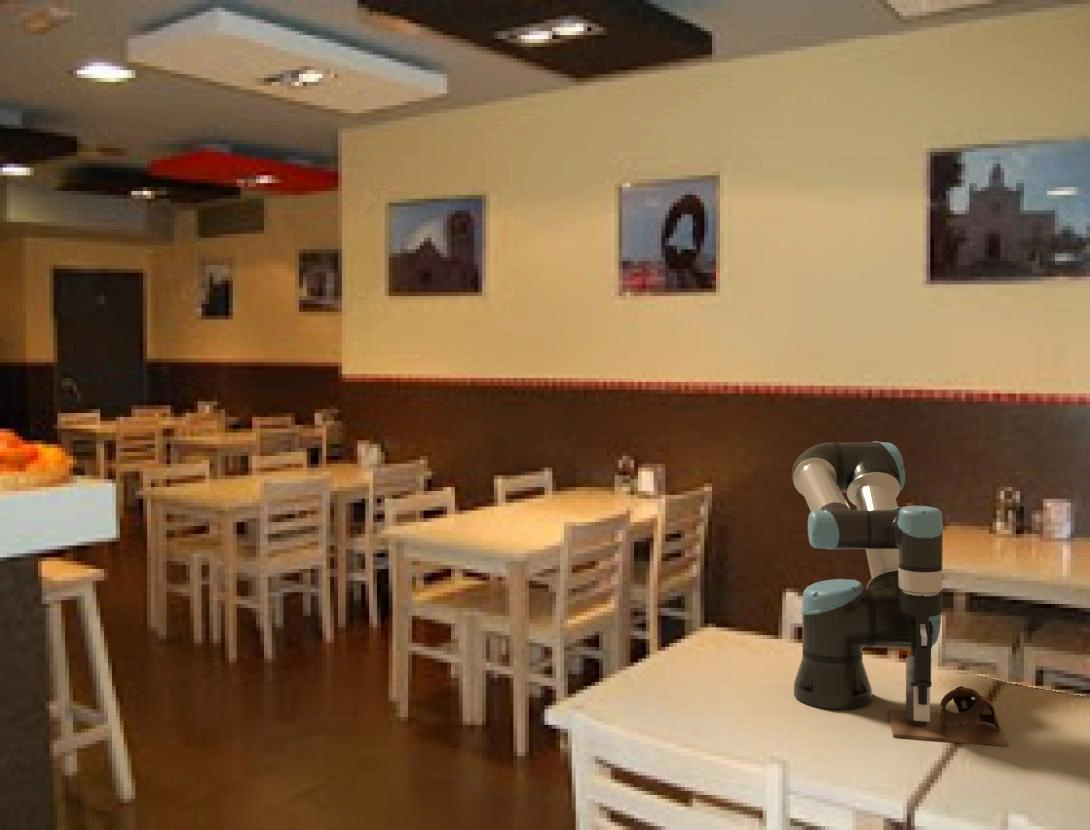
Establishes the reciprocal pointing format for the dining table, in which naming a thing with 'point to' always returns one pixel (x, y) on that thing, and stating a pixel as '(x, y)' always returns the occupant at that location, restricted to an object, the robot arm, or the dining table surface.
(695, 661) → the dining table surface
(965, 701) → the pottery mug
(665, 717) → the dining table surface
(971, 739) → the brown board with post
